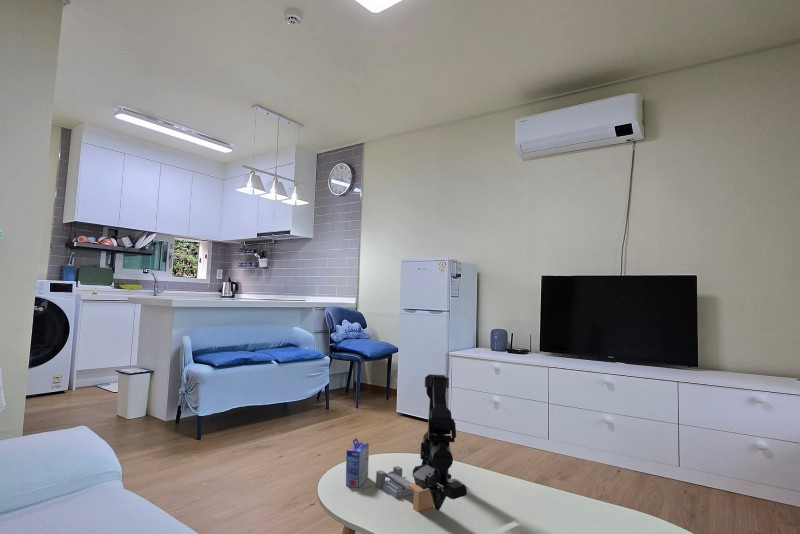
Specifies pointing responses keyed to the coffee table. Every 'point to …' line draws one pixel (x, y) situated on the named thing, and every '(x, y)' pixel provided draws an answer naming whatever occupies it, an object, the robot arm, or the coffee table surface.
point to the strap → (398, 479)
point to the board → (391, 484)
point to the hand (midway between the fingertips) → (437, 509)
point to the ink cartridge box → (357, 464)
